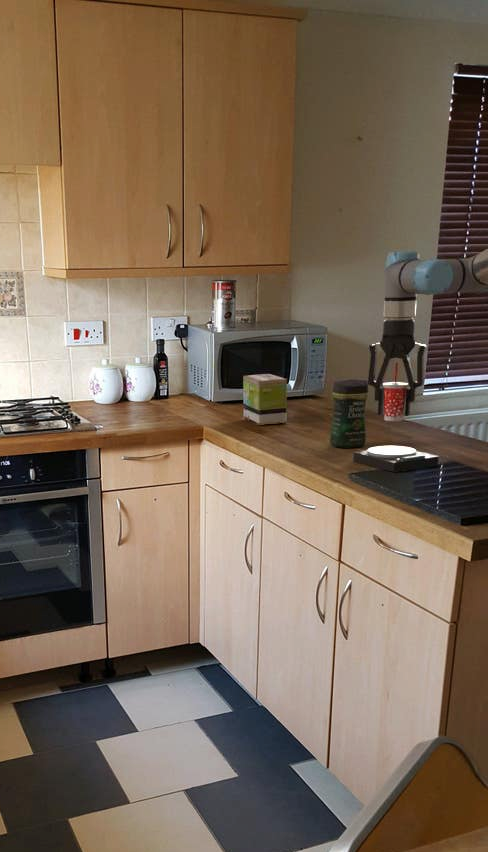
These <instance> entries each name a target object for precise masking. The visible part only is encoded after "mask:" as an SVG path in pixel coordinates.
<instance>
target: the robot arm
mask: <svg viewBox="0 0 488 852" xmlns="http://www.w3.org/2000/svg"><path fill="white" fill-rule="evenodd" d="M384 271H385V273H384V274H385V277H384V301H383V315H382V316H383V318H384V320H383V322H382V335H381V336H382V337H381V340H380V342H378V343H373V344H370V345H369V347H368V349H369V352H370V358H369V368H368V376H367V382H368V386H370V387H373V388H374V401H375V402H377V403H378V404H377V415H379V416H381V415H382V414H384V387H383V383H384V380H385V376H386V373H387V371H388V368H389V366H390V363H391V361H392V359H401V361H402V363H403V366H404V370H405V374H406V378H407V383H408V387H407V389H406V398H405V406H404V416H406V417H409V415H410V414H411V403H414V402H415V400H416V390H417V388H419V387H422V386H423V385H424V383H425V377H424V376H425V369H424V368H425V352H426V350H427V345H426V344H421V343H417V340H416V338H415V329H416V327H415V325H416V321H415V319H414V318H415V317H416V313H417V297H418V296H417V295H426V296H430V295H435V296H436V295H439V294H455V293H484V292H488V248H485V250H483V251H481V252H479V253H477V254H475V255H473V256H471V257H466V258H428V259H420V254H419V252H418V251H415V250H414V251H392V252H391V251H390V252H389V253H388V254H387V257H386V265H385V269H384ZM380 348H381V349H380ZM413 349H415V352H416V354H417V355H416V379H415V374H414V371H413V366H412V363H411V358H410V357H411V356H410V353H411V352H412V350H413ZM380 350H382V351H383V353H384V354H385V355H384V358H383V362H382V365H381V367H380V370H379V373H378V375H377V378H376V373H377V363H378V353H379V352H380ZM375 379H376V380H375Z"/></svg>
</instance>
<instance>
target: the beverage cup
mask: <svg viewBox="0 0 488 852" xmlns="http://www.w3.org/2000/svg"><path fill="white" fill-rule="evenodd" d="M398 365H399V363H398V362H395V366H394V368H395V369H394V381H389V382H382V387H384V402H383V420H384V421H387V422H401V421H403V420H404V416H405V403H406V389H407V388H409V383H408V382H403V381H402V382H401V381H398Z"/></svg>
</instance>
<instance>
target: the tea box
mask: <svg viewBox="0 0 488 852" xmlns="http://www.w3.org/2000/svg"><path fill="white" fill-rule="evenodd" d="M242 379H243V380H242V381H243V382H242V384H243V386H242V387H243V391H242V392H243V417H244V416H245V417H247V418H249V419H251V420H253V421H255V422H257V423H269V422H281V421H286V422H287V409H288V407H287V406H288V404H287V403H288V402H287V400H288V399H287V396H288V393H287V389H288V380H287V378H284V377H281V376H278V375H274V374H271V373H263V374H262V373H261V374H252V375H250V374H249V375H243V377H242Z"/></svg>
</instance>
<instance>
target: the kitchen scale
mask: <svg viewBox="0 0 488 852" xmlns="http://www.w3.org/2000/svg"><path fill="white" fill-rule="evenodd" d="M352 459H353V461H352V462H353V463H357V464H361V465H364V466H367V467H370V468H375V469H377V470H382V471H385V470H389V471H393V472H396V471H403V472H405V471H404V470H410V471H415V470H414V469H416V470H420V469H419V468H423V469H425V468H424V467H429V468H432V467H431V466H436V467H438V466H439V459H440V456H439V455H436V454H431V453H427V452H423V451H417V450H416V449H415V448H412V447H409V446H402V445H377V446H372V447H369V448H368V449H367V450H360V451H354V452H353V458H352ZM437 465H438V466H437ZM389 471H388V472H389ZM393 472H392V473H393Z"/></svg>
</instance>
